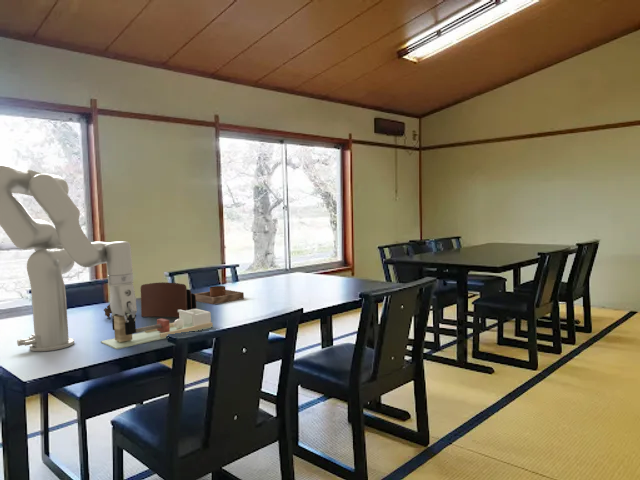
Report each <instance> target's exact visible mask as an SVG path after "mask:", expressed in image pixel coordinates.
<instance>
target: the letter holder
mask: <svg viewBox="0 0 640 480" xmlns="http://www.w3.org/2000/svg"><path fill="white" fill-rule="evenodd" d="M195 294H196V293H192V291H191V290H190V289H187V285H186V284H184V283H177V282H166V281H165V282H161V281H160V282H150V283H145V284H141V286H140V311H141V317H142V318H153V317H154V318H179V312H178V310H184V311H186V310H191V309H198V308H197V301H196V296H195Z"/></svg>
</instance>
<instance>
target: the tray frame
mask: <svg viewBox="0 0 640 480" xmlns="http://www.w3.org/2000/svg"><path fill="white" fill-rule="evenodd" d="M194 294H195V296H196V302H199V303H204V304H210V305H218V304H223V303H228V302H234V301H240V300H244V299H245V297H244V292H242V291H235V290H230V289H225V294H230V295H224V296H219V297H209V296H207V295H210V290H209V291H205V292H204V291H203V292H198V293H194Z"/></svg>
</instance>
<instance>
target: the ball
mask: <svg viewBox="0 0 640 480" xmlns="http://www.w3.org/2000/svg"><path fill="white" fill-rule="evenodd" d="M173 323H174V327H175V328H176V329H181V328H183V326H184V321H183V320H182V319H179V318H177V319H175V320H174V322H173Z"/></svg>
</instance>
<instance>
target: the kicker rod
mask: <svg viewBox="0 0 640 480" xmlns="http://www.w3.org/2000/svg"><path fill="white" fill-rule="evenodd" d="M128 317H129V316H128ZM125 322H126V320H125V318H124V316H121V315H116V316H114V330H113V331H114V338H115V340H116V341H119V342H124V341H128V340H132V335H133V334H129V335H126V334H125ZM169 323H170V319H167V318H164V317H160V318H158V319H156V324H153V325H148V326H142V327H138V328H136V333H135V334H137V333H142V332H145V331H148V330H153V329H157V331H160V332H163V333H165V332H169V331H170V326H169Z"/></svg>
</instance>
